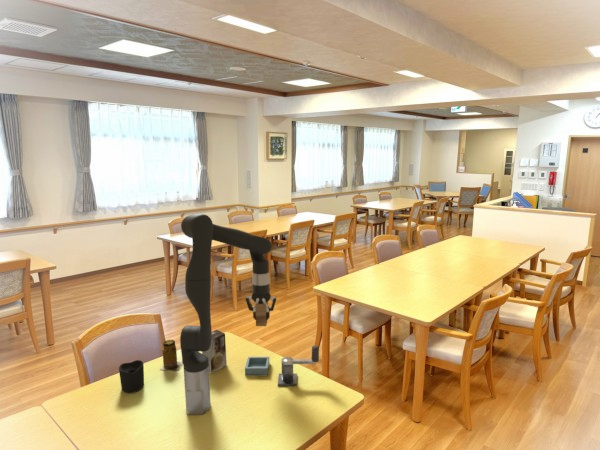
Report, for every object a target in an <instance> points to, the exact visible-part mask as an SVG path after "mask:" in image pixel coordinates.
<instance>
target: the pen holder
mask: <svg viewBox="0 0 600 450" xmlns="http://www.w3.org/2000/svg"><path fill="white" fill-rule="evenodd" d="M144 369H145V368H144V362H143V361H142V360H139V359H135V360H133V361H132V362H124V363H121V364H120V365H119V367H118V371H119V380H120V386H121V391H122V392H123V393H125V394H134V393H136V392H139V391H141V390H143V388H144V386H145V373H144V372H145V371H144Z"/></svg>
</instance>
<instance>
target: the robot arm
mask: <svg viewBox="0 0 600 450" xmlns="http://www.w3.org/2000/svg"><path fill="white" fill-rule="evenodd" d="M180 229H181V231H182V233H183V234H184V235H185V236H186V237H188V238H191V239H192V254H191V257H190V259H189V263H188V265H187V267H186V270H185V278H184V279H185V280H184V282H185V283H184V284H185V287H184V288H185V289H184V290H185V295H186V296H187V297H186V298H187V299H188V300H189V302H190V304H191V305H192V306H193V308H194V309H195V311H196V314H197V317H198V320H199V325H185V326H183V327H182V329H181V332H180V337H179V341H180V344H179V345H180V353H181V360H182V361H181V362H183V364H182V366H183V376H184V377H183V378H184V397H185V411H186V413H187V415H204V414H205V413H206V412H208V410H210V408H211V387H210V386H211V385H210V372H209V361H208V357H207V356H206V355H204V354H202V352H204V351H208V350H209V348H210V346H211V340H212V320H211V290H212V289H211V287H212V284H211V283H212V282H211V281H212V279H211V278H212V277H211V274H212V273H211V272H212V271H211V267H212V266H211V265H212V264H211V263H212V258H211V257H212V244H213V241H214V242H219V243H222V244H225V245H228V246H231V247H235V248H238V249H243V250H248V251H249V255H250V258H251V261H252V262H251V263H252V278H251V281H252V282H251V283H252V285H251V286H252V287H251V288H252V289H251V290H252V294H251V295H250V296H249V295H247V296H246V298H245V302H246V305H247V308H248V310H249V311H250V312H252V318H253V320H254V321H256V304H258V303H260V304H266V320H267V321H268V320H269V319H270V312H273V311H274V309H275V306H276V302H277V298H278V297H277V296H272V294H271V292H270V291H271V288H270V287H271V285H270V284H271V283H270V282H271V280H270V263H269V260H268V259H267V258H266V257H265V255H267V254H269V253H270V252H272V249H273V244H272V242H271V240H270V239H269V238H267V237H262V236H259V235H254V234H251V233H249V232H247V231H244V230H240V229H237V228H233V227H227V226H222V225H219V224H214V223H213V220H212V218H210V216H209V215H207V214H204V213H192V214H189V215H186V216H185V217H184V218H183V219H182V220H181V223H180ZM252 300H253V301H254V302H253V303H254V306H253V305H252V302H251V301H252ZM270 300H271V301H270ZM269 301H270V302H271V306H270V304H269Z"/></svg>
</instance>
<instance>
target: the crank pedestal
mask: <svg viewBox="0 0 600 450" xmlns="http://www.w3.org/2000/svg"><path fill="white" fill-rule="evenodd" d="M277 378H278V380H277V387H297V384H298V382H297V380H298V373H294V364H293V365H291V366H284V365H282V364H281V373H278V377H277Z"/></svg>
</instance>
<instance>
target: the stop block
mask: <svg viewBox="0 0 600 450" xmlns="http://www.w3.org/2000/svg"><path fill="white" fill-rule="evenodd" d="M267 324H268V320H266V304H260V303H258V304H256V320H255V326H256V327H267Z"/></svg>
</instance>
